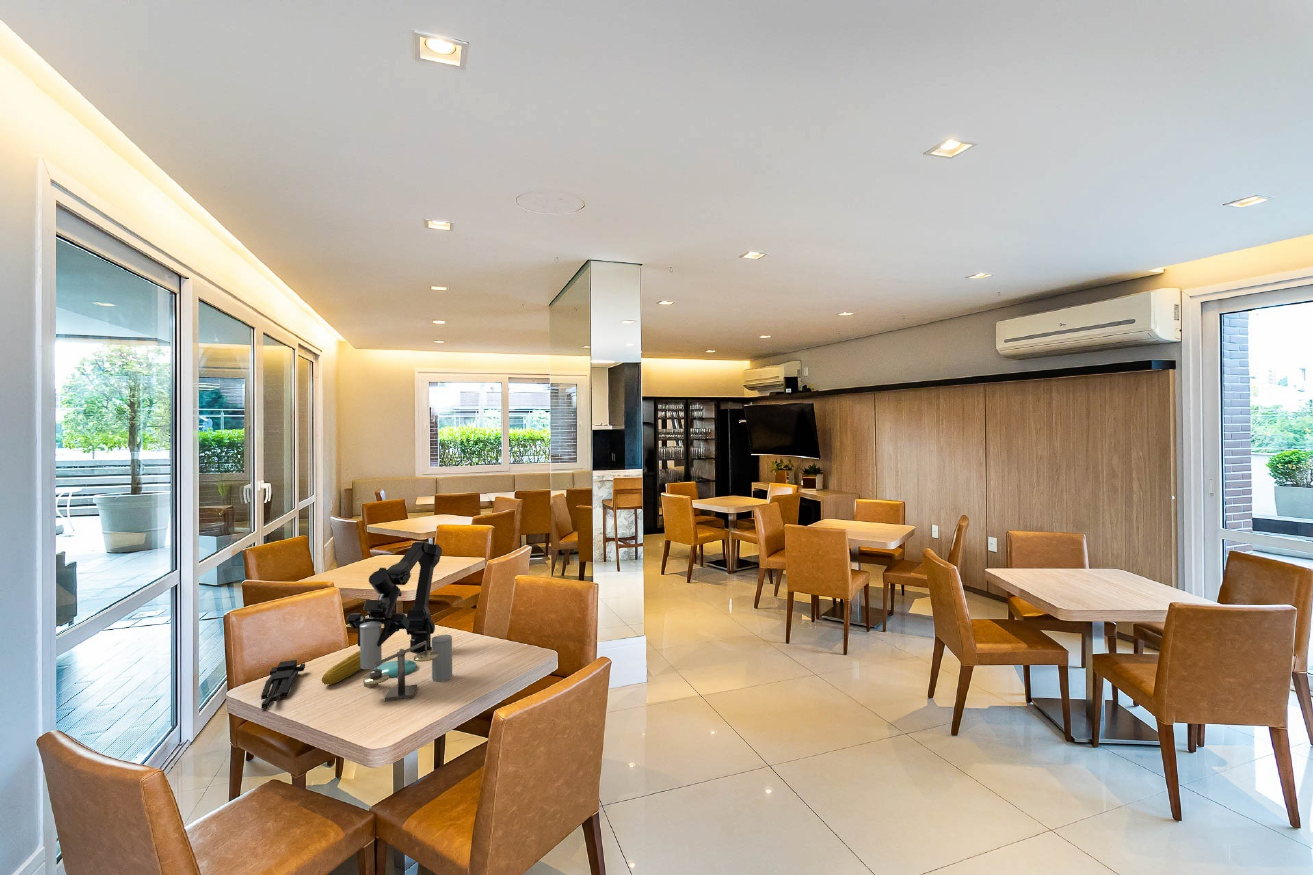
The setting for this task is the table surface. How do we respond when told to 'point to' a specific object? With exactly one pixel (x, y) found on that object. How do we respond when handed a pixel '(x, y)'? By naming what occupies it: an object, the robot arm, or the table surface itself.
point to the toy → (280, 681)
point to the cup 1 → (370, 644)
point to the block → (370, 685)
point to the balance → (399, 674)
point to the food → (342, 669)
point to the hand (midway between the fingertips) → (368, 645)
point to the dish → (396, 668)
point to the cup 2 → (442, 658)
